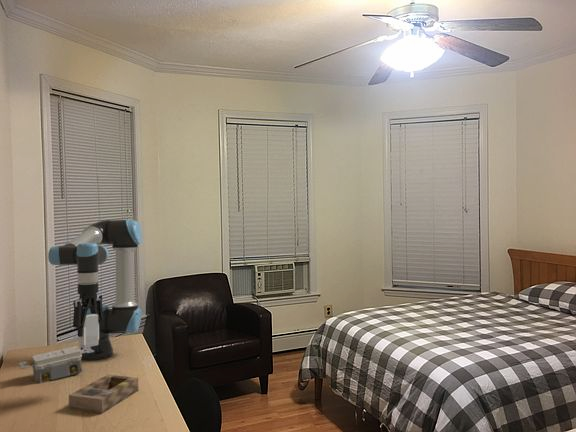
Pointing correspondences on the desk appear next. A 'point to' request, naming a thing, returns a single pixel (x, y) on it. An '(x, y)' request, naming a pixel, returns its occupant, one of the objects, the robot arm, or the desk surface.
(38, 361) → the electrical outlet
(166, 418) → the desk surface
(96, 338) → the skincare box
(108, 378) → the socket panel
